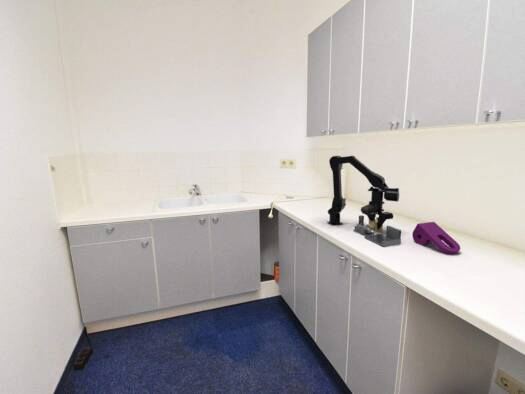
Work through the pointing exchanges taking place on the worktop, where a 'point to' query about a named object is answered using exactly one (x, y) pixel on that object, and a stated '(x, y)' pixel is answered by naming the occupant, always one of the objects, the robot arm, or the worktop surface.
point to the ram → (361, 225)
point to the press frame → (382, 236)
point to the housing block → (374, 225)
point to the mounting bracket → (435, 237)
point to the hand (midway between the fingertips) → (375, 227)
